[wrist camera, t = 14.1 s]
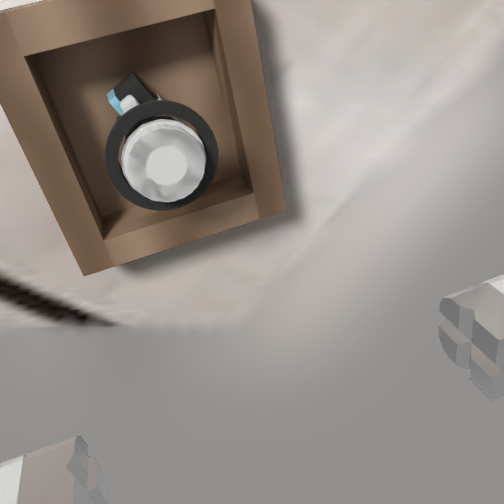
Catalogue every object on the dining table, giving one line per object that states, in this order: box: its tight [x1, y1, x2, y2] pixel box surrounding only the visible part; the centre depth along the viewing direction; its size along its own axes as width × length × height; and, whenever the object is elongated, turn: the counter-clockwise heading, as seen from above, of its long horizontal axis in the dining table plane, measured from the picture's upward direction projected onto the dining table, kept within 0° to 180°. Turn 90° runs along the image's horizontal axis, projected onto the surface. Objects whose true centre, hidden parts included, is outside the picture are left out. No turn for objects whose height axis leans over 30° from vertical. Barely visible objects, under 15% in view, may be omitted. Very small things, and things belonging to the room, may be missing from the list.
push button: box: [105, 72, 219, 211], centre depth 26 cm, size 7×5×10 cm
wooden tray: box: [0, 0, 287, 276], centre depth 29 cm, size 14×15×4 cm
